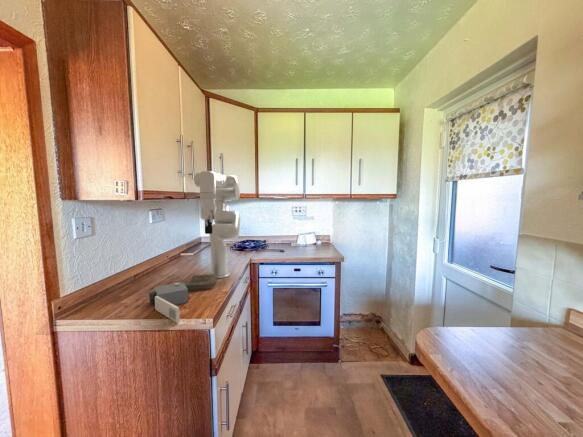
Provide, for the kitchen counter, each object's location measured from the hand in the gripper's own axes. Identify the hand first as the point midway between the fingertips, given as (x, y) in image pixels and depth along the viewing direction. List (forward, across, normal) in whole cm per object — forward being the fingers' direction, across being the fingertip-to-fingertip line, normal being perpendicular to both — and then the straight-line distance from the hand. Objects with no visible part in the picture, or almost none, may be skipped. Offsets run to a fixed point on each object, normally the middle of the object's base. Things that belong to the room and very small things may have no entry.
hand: (208, 233), depth 120 cm
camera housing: (+29, +4, -19) cm, 35 cm away
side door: (+29, +19, -22) cm, 41 cm away
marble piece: (+30, -10, -2) cm, 31 cm away
